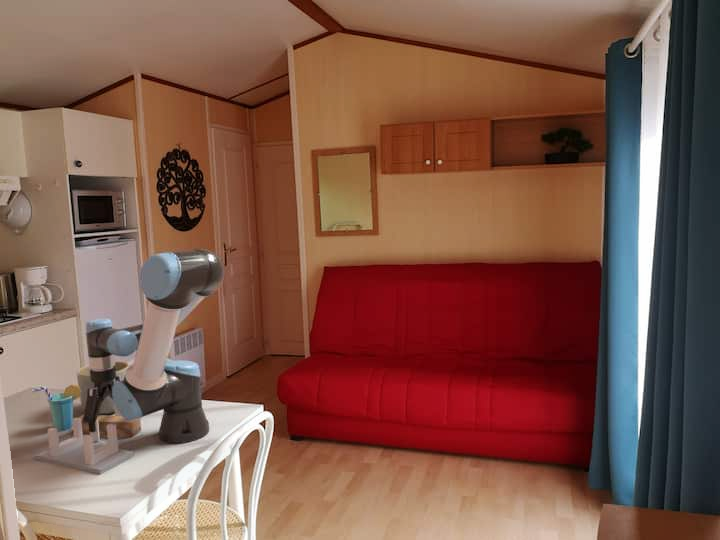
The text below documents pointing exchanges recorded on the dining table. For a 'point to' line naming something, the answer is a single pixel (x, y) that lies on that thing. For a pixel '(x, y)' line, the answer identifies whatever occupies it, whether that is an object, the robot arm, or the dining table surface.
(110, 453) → the bracket board
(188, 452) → the dining table surface
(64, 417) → the cup
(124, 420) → the rail
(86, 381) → the planter
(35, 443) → the dining table surface
